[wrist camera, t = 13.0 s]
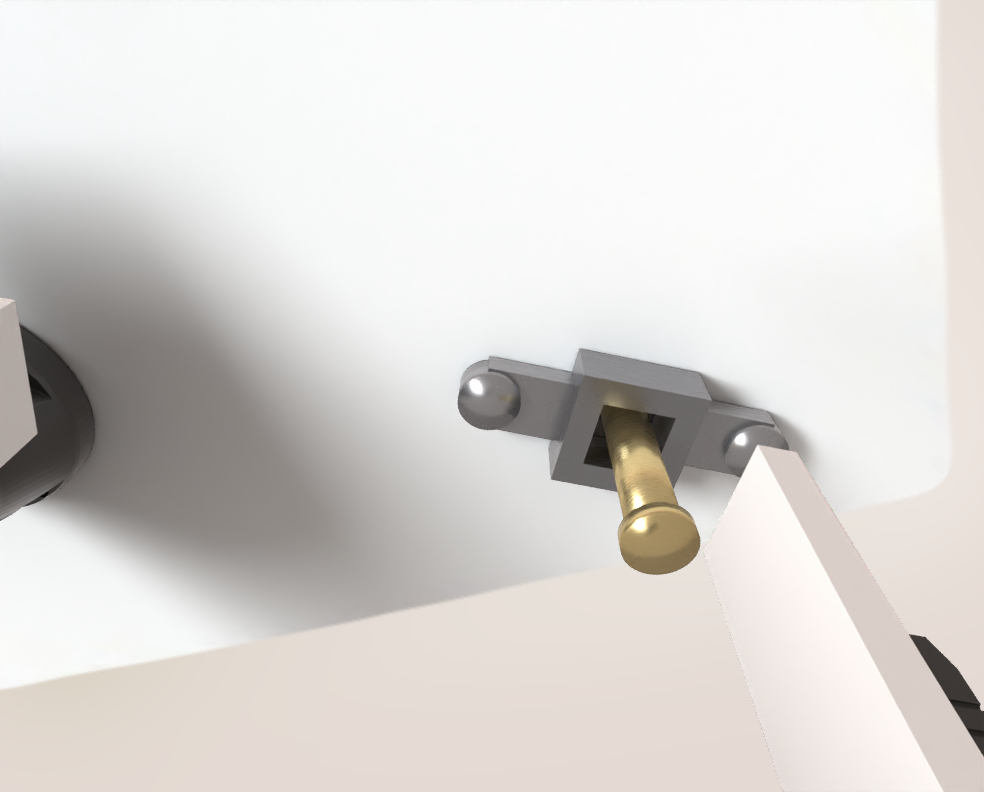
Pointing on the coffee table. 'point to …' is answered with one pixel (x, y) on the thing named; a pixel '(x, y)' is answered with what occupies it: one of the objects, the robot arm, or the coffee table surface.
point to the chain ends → (621, 383)
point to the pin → (646, 497)
